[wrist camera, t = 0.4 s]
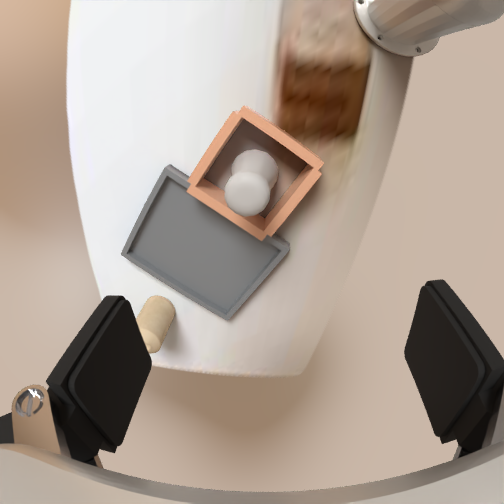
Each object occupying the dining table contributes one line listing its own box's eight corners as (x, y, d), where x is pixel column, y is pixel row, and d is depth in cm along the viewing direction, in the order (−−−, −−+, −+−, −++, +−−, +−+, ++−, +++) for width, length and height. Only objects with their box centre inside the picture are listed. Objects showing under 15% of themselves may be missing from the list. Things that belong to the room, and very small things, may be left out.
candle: (169, 324, 52) (152, 364, 43) (142, 310, 51) (121, 348, 42) (179, 304, 50) (162, 345, 41) (151, 289, 49) (128, 328, 40)
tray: (169, 164, 39) (164, 167, 37) (289, 243, 43) (289, 249, 41) (125, 248, 45) (120, 254, 43) (229, 313, 49) (227, 320, 48)
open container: (243, 103, 34) (238, 102, 30) (322, 159, 37) (328, 166, 33) (191, 180, 39) (182, 189, 35) (266, 229, 42) (265, 243, 38)
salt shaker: (284, 181, 39) (287, 216, 27) (243, 195, 40) (229, 235, 28) (268, 140, 36) (264, 156, 25) (226, 156, 38) (204, 179, 26)
